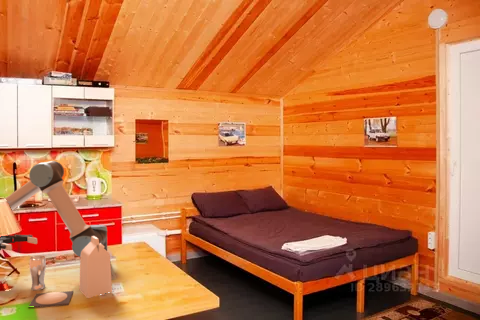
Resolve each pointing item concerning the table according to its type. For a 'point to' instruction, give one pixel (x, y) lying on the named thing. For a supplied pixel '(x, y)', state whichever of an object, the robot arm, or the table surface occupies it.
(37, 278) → the beer glass
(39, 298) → the mat
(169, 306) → the table surface
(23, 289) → the table surface
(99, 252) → the milk
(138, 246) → the table surface
